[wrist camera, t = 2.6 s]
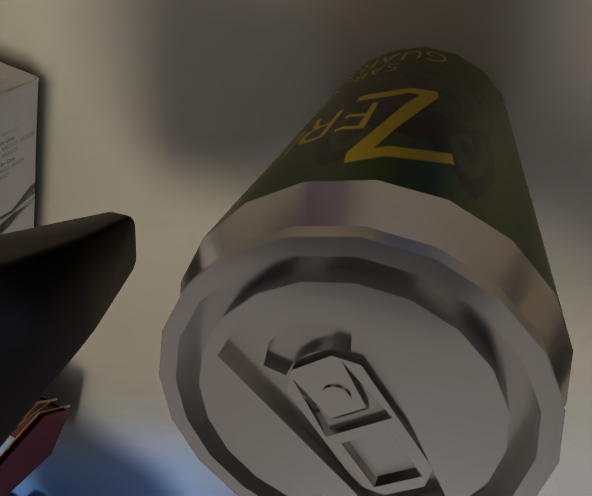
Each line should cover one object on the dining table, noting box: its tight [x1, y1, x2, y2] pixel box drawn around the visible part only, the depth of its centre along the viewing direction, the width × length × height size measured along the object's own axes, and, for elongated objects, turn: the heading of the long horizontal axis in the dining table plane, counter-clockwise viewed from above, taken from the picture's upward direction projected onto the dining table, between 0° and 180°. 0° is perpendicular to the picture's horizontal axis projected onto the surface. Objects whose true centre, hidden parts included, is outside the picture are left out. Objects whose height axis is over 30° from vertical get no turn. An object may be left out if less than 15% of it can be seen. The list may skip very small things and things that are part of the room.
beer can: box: [159, 47, 573, 496], centre depth 12 cm, size 5×5×12 cm
